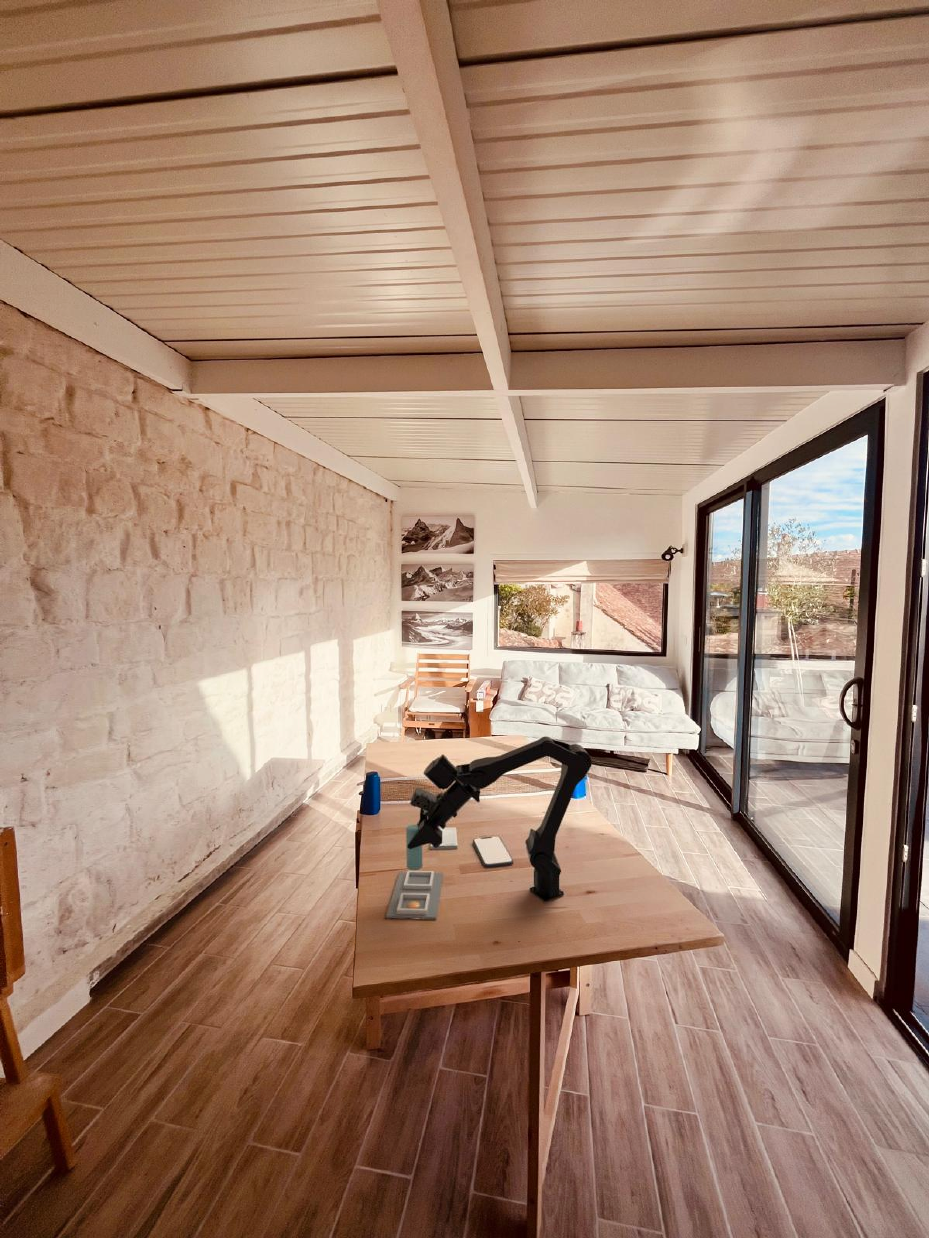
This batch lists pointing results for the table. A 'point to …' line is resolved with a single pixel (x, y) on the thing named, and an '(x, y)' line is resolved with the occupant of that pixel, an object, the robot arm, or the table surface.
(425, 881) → the pin board
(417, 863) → the pin
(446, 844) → the hard drive
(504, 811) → the table surface
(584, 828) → the table surface
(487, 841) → the white smartphone
